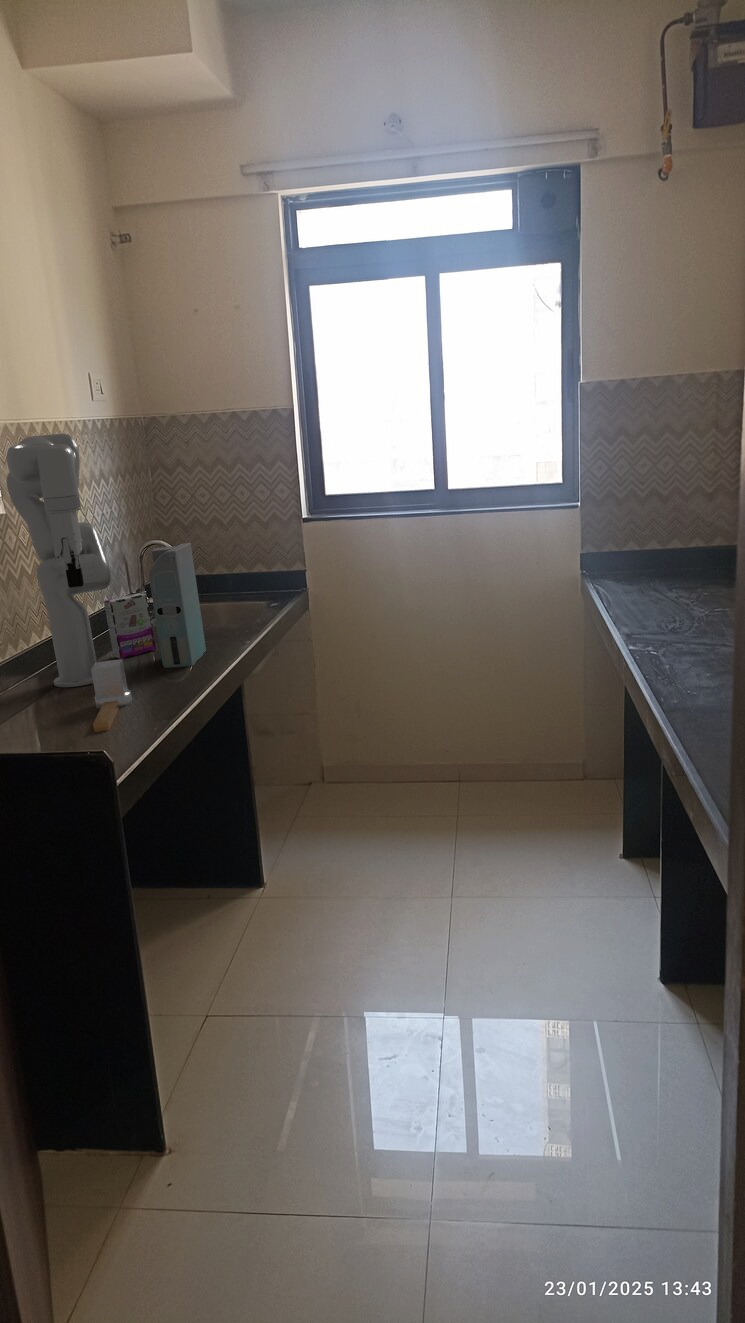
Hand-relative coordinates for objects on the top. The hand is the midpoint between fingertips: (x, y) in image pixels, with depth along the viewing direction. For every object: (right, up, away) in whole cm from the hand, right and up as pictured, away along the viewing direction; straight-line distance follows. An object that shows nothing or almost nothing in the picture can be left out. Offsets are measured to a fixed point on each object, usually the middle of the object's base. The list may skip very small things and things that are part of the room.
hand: (76, 586), depth 209 cm
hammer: (+9, -29, -5) cm, 30 cm away
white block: (+7, -24, +2) cm, 25 cm away
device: (+16, -17, +40) cm, 46 cm away
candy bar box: (0, -15, +53) cm, 55 cm away
